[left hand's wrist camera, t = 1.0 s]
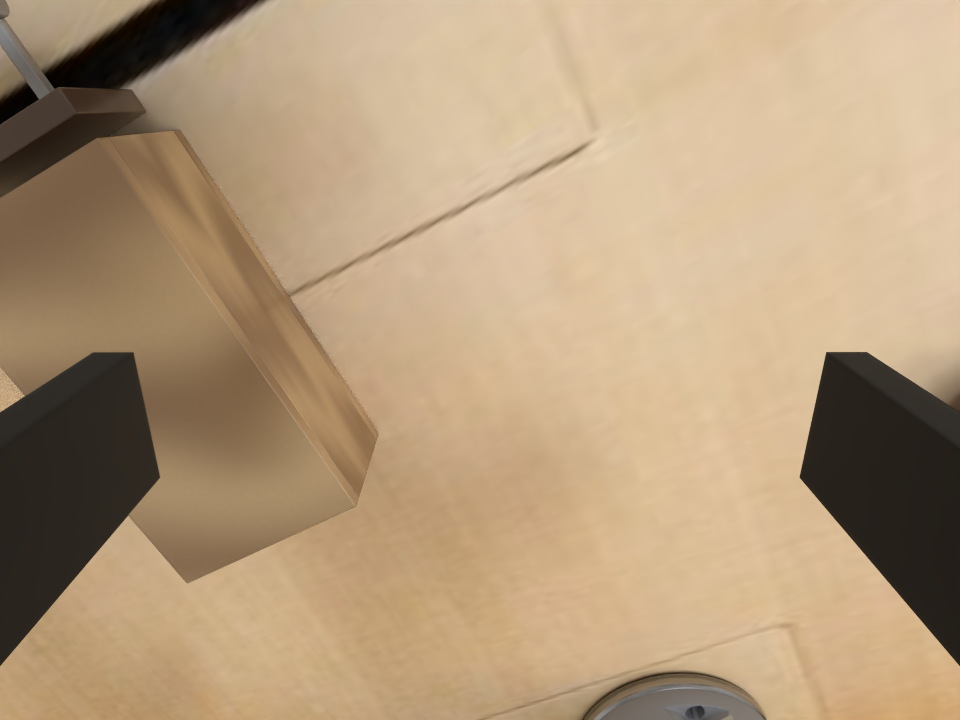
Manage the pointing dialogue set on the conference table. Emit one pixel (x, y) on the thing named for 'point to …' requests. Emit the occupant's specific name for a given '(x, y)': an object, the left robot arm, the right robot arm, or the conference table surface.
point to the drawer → (53, 117)
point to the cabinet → (182, 345)
